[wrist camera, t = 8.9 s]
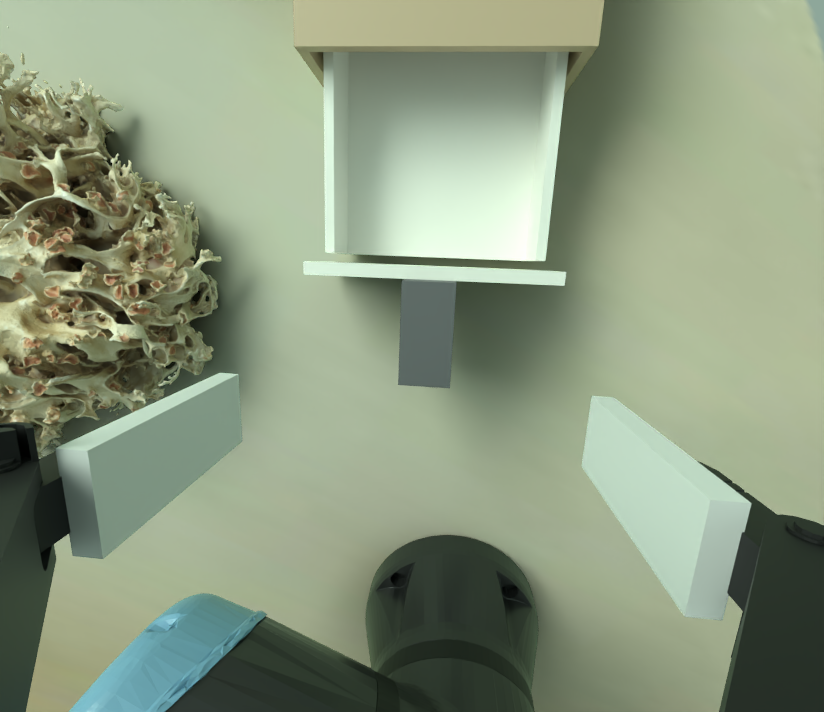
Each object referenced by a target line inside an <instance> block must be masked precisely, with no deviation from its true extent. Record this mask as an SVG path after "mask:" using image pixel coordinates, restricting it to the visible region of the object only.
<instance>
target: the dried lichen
mask: <svg viewBox="0 0 824 712" xmlns="http://www.w3.org/2000/svg"><path fill="white" fill-rule="evenodd" d="M7 28H9V26H7ZM21 62H22V64H23V65H24V64H25V59H24V54H23V53H21ZM13 70H14V64H13V63H12V61H11V60H10V59H9V56H8V55H7V54H3V53H1V52H0V85H1V86H2V87H3V88H4V89H3V90H2V89H0V95H1V96H2V97H1V98H2V99H0V423H9V422H26V423H30V424H33V425H34V424H35V425H37V426H38V427H37V429H36V427H34V430H35V431H36V432H35V434H34V435H35V441H36V446H37V452H38V457H41V458H43V456H42V455H41V451H42V450H44V449H45V447H46V446H47V445H48V444H49V443H50V444H54V443H55V445H56V446H60V445H61V443H60V442H59V441H58V440H56V439H55V438H57V437H61V436H60V435H59V434H58V433H60V434H61V435H63V433H62V432H61V431H60V430H61V429H62V427H63V426H64V424H63V423H65V422H67V421H68V420H70V419H71V418H73V417H75V416H76V418H80V417H84V416H86V417H91V418H94V419H96V420H100V418H99V417H98V416H97V414H96V413H95V411H96V410H98V409H101V408H103V409H107V408H109V407H111V406H112V407H114V406H115V405H116V403H118V402H119V405H118V407H116V408H115V409H114V410H113V411H115V410H117V409H118V408H119V410H120V409H123V408H124V404H125V405H126V408H127V407H128V408H129V409H130V410H131V412H132V413H133V412H135V411H137V410H139V409H142V408H144V407H145V404H146V403H147V402H148V400H149V398H151V399H154V400H158V401H159V400H160V396H161V397H162V396H164V395H165V394H164V392H163V391H164V390H165V389H161V387H160V386H163V385H165V384H169V383H170V385H171V384H172V382H173V381H174V380H175V379H176V378H177V377H178V376H179V371H180V369H181V368H184V369H185V370H187V371H190V372H192V373H194V375H195V376H196V375H199V374H201V373H202V370H203V368H204V365H205V361H209V360H211V359H212V357H213V356H212V355H211V352H213V348H212V346H206V344H204V342H203V341H202V338H203V336H202V333H201V332H199V331H198V332H195V330H194V329H193V327H191V326H190V324H189V322H190V321H192V320H194V319H196V318H198V317H204V316H207V315H209V314H212V310H214V309H216V308H218V305H217V302H216V300H218V291H217V285H218V283H217V281H216V280H214V279H213V278H212V277H211V275H205V273H203V272H202V271H201V270H200V268H201V265H202V264H203V263H204V262H207V261H214V262H221V256H218V257H215V256H213V255H212V254H213V252H211V251H210V250H209V249H207V250H203V249H201V251H200V257H199V258H200V259H198V261H197V263H196V264H195V265H194V261H192V260H190V259H191V258H194V259H196V257H195V250H196V251H197V249H196V245H197V241H198V236H199V235H200V233H199V224H198V223H199V221H198V217H195V219H194V221H192V218H191V217H192V213H193V211H194V209H195V207H194V206H193V204H194V203H193V202H191V203H190V205H187V206H186V205H184V209H185V216H184V215H183V212H182V210H181V208H180V206H179V204H178V201H171V202H170V201H168V199H167V198H169V199H172V198H171V197H170V196H167V195H166V193H164V195H162V191H161V190H160V189H158V188H161V186H163V184H161V183H159V182H158V181H155V184H153V182H150V181H149V182H145V183H141V180H142V179H143V178H142V177H141V178H139V177H138V174H139V173H138V172H135V174H134V172H133V171H132V170H131V169H132V166H131V164H132V162H130V161H129V160H128V167H126V168H125V164H124V165H123V167H121V161H118V163H117V164H115V162H117V160H118V156H119V154H118V153H117V155H116V156H115V157H116V158H113V157H111V156H110V154H109V153H108V151H107V149H106V144H105V142H104V141H105V138H106V137H107V136H106V135H105V134H106V133H107V132H109V131H112V132H114V130H113V129H112V128H111V127H110V126H109V124H107V123H105V121H104V120H103V119H102V118H100V117H99V116H100V114H99V112H100V111H101V110H104V109H106V108H109V109H112V110H114V111H116V112H117V111H122V110H123V109H124V108H123V107H122V106H121V105H120V104H116V103H114V102H113V103H112V102H110V101H108V100H106V99H104V98H103V97H102V96H101V95H97V96H96V95H92V94H91V92H92V90H93V86H92V85H90V87H89V88H88V92H89V94H88V93H87V92H86V90H85V87H84V84H83V82H82V80H81V78H79V79H80V83H81V85H82V88H83V97H82V96H81V95H78V91H79V88H80V85H79V83H77V82H74V81H70V83H71V87H72V89H71V91H70V92H69V93H66V94H65V93H64V92H63V93H61V94H62V95H63V97H64V99H63V98H61V96H60V95H58V94H57V93H56V92H54V91H53V89H52V88H51V87H48V89H44V90H43V89H42V88H41V87H40V86H39V85H37V84H36V85H35V87H36V88H38V89H39V90H40V91H39V92H37V91H35V90H34V91H35V96H32V95H31V92H30V89H31V88H32V87H31V86H29V85H30V84H32V81H33V79H35V78H36V76H35V75H37V74H38V73H39V72H38V71H29V70H23V71H22V75H21V79H20V78H17V79H18V80H17V81H15V80H14V79H12V82H13V83H14V84H13V85H12V86H7V87H6V86H5V85H4V84H3V81H4V80H5V79H10V73H12V71H13ZM43 81H44V80H43ZM44 82H45V83H47V82H46V81H44ZM47 84H48V83H47ZM59 86H60V87H61V88H62V86H61V85H60V84H59ZM23 89H24V91H23ZM74 90H75V94H73V92H74ZM48 91H49V92H50V93H47V92H48ZM72 94H73V95H72ZM1 101H2V102H3V105H2V103H1ZM10 106H12V107H13V108H14V109H15V110H16V111H17V115H16V116H17V117H16V116H15V115H14V114H13V113H12V111H11V110H10ZM70 113H71V115H70ZM80 117H82V118H83V120H82V121H81V120H80ZM108 159H110V160H111V163H112V164H113V165H112V166H110V165H109V164H108V163H107V162H106V161H104V160H108ZM120 172H122V173H123V175H122V176H121V175H120ZM129 172H131V173H129ZM128 174H129V175H128ZM140 183H141V184H140ZM190 206H191V207H190ZM198 291H200V292H201V296H200V298H199V300H198V302H195V301H194V300H193V299H192V298H193V296H194V295H195V293H197V292H198ZM206 296H209V301H208V302H206V300H205V298H206ZM200 312H203V313H204V314H198V313H200ZM189 356H191V357H193V358H192V359H189ZM171 362H176V364H175V365H174V366H173V367H171V368H168V369H166V368H165V367H166V366H168V365H169V364H170V363H171ZM182 363H183V364H184V365H183V364H182ZM178 367H179V368H178ZM177 368H178V371H177V372H174V371H175V370H176V369H177ZM173 372H174V374H176V375H175V376H173V377H171V376H168V375H169V374H171V373H173ZM167 376H168V379H171V380H170V381H163V379H164V378H165V377H167ZM123 378H126V379H127V382H124V380H123ZM162 381H163V383H162V384H160V383H161V382H162ZM157 382H158V384H157ZM156 388H159V389H156ZM129 390H133V392H132V393H130V394H129ZM157 392H158V393H157ZM154 393H157V394H154ZM145 399H146V400H145ZM136 400H138V401H140V400H141V401H142V402H138V401H136ZM111 411H112V409H111V410H110V412H111ZM118 414H119V412H118V413H117V414H116V416H117V415H118ZM77 415H78V416H77ZM58 430H59V431H58ZM57 431H58V432H57ZM62 437H63V436H62ZM51 439H52V441H53V442H52V441H51ZM65 440H66V438H65Z"/></svg>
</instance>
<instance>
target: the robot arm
mask: <svg viewBox="0 0 824 712" xmlns="http://www.w3.org/2000/svg"><path fill="white" fill-rule="evenodd" d="M241 442H242V426H241V408H240V390H239V374H231V373H218V374H216V375H213V376H211V377H209V378H207V379H205V380H203V381H200V382H198V383H196V384H194V385H192V386H190V387H187V388H185V389H183V390H181V391H179V392H176V393H174V394H172V395H170V396H168V397H166V398H163V399H161V400H159V401H157V402H155V403H153V404H150V405H148V406H146V407H144V408H142V409H139V410H137V411H135V412H133V413H131V414H129V415H126V416H124V417H122V418H120V419H118V420H116V421H113V422H111V423H109V424H107V425H105V426H103V427H100V428H98V429H96V430H94V431H92V432H89V433H87V434H85V435H83V436H81V437H79V438H76V439H74V440H72V441H70V442H68V443H66V444H63V445H61V446H59V447H57V448H55V451H56V452H54V453H51V454H49V455H47V456H45V457H43V458H41V459H39V458H38V452H37V446H36V441H35V435H34V429H33V425H32V424H30V423H26V422H9V423H0V712H26V707H27V702H28V697H29V692H30V687H31V682H32V677H33V672H34V667H35V662H36V657H37V652H38V647H39V642H40V637H41V632H42V627H43V622H44V617H45V612H46V607H47V602H48V597H49V592H50V587H51V582H52V577H53V572H54V567H55V562H56V555H55V549H54V543H56V542H57V541H59V540H60V539H62V538H63V537H64V536H66V535H67V534H69V536H70V542H71V548H72V554H73V556H79V557H89V558H99V559H104V558H105V557H106V556H107V555H108V554H110V553H111V552H112V551H113V550H114V549H115V548H117V547H118V546H119V545H120V544H121V543H123V542H124V541H125V540H126V539H127V538H128V537H130V536H131V535H132V534H133V533H134V532H135V531H137V530H138V529H139V528H140V527H141V526H143V525H144V524H145V523H146V522H147V521H148V520H150V519H151V518H152V517H153V516H154V515H156V514H157V513H158V512H159V511H160V510H161V509H163V508H164V507H165V506H166V505H167V504H169V503H170V502H171V501H172V500H173V499H174V498H176V497H177V496H178V495H179V494H180V493H182V492H183V491H184V490H185V489H186V488H187V487H189V486H190V485H191V484H192V483H193V482H195V481H196V480H197V479H198V478H199V477H200V476H202V475H203V474H204V473H205V472H206V471H208V470H209V469H210V468H211V467H212V466H213V465H215V464H216V463H217V462H218V461H219V460H221V459H222V458H223V457H224V456H225V455H226V454H228V453H229V452H230V451H231V450H232V449H234V448H235V447H236V446H237V445H238V444H239V443H241ZM582 468H583V469H584V471H585V472H586V474H587V475H588V477H589V478H590V479H591V481H592V482H593V484H594V485H595V487H596V488H597V490H598V491H599V493H600V494H601V495H602V497H603V498H604V500H605V501H606V503H607V504H608V506H609V507H610V509H611V510H612V512H613V513H614V514H615V516H616V517H617V519H618V520H619V522H620V523H621V525H622V526H623V528H624V529H625V531H626V532H627V533H628V535H629V536H630V538H631V539H632V541H633V542H634V544H635V545H636V547H637V548H638V549H639V551H640V552H641V554H642V555H643V557H644V558H645V560H646V561H647V563H648V564H649V566H650V567H651V568H652V570H653V571H654V573H655V574H656V576H657V577H658V579H659V580H660V582H661V583H662V585H663V586H664V587H665V589H666V590H667V592H668V593H669V595H670V596H671V598H672V599H673V601H674V602H675V604H676V605H677V606H678V608H679V609H680V611H681V612H682V614H683V615H684V617H693V618H703V619H713V620H723V616H724V612H725V608H726V604H727V600H728V596H730V597H731V598H732V599H733V600H734V601H735V602H736V604H737V605H738V606H739V607H740V608H741V609H742V611H743V613H742V617H741V621H740V625H739V629H738V632H737V636H736V640H735V644H734V648H733V652H732V655H731V658H732V659H731V663H730V667H729V672H728V676H727V680H726V684H725V689H724V693H723V697H722V702H721V706H720V710H719V712H824V526H823V525H821V524H819V523H816V522H813V521H810V520H806V519H803V518H799V517H795V516H788V515H777V514H775V513H774V512H773V511H771V510H770V509H769V508H767V507H766V506H765V505H763V504H762V503H761V502H759V501H758V500H757V499H755V498H754V497H753V496H751V495H750V494H749V493H745V492H744V490H743V489H742V488H740V487H739V486H738V485H736V484H734V483H732V481H731V480H730V479H728V478H727V477H726V476H724V475H723V474H722V473H720V472H719V471H717V470H715V469H713V468H711V467H709V466H707V465H705V464H703V463H701V462H699V461H696V460H695V459H693V458H692V457H691V456H689V455H688V454H687V453H686V452H684V451H683V450H682V449H680V448H679V447H678V446H676V445H675V444H674V443H673V442H671V441H670V440H669V439H667V438H666V437H665V436H663V435H662V434H661V433H659V432H658V431H657V430H656V429H654V428H653V427H652V426H650V425H649V424H648V423H646V422H645V421H644V420H643V419H641V418H640V417H639V416H637V415H636V414H635V413H633V412H632V411H631V410H630V409H628V408H627V407H626V406H624V405H623V404H622V403H620V402H619V401H618V400H617V399H615V398H614V397H600V396H592V397H591V404H590V411H589V418H588V425H587V432H586V439H585V446H584V453H583V460H582ZM266 615H267V614H266V613H264V612H263V611H257V612H254V611H252V610H249V609H247V608H245V607H242V606H240V605H238V604H235V603H233V602H231V601H228V600H226V599H223V598H221V597H219V596H216V595H213V594H197V595H193V596H190V597H187V598H185V599H183V600H181V601H179V602H178V603H176V604H175V605H173V606H172V607H171V608H169V609H168V610H166V611H165V612H164V613H163V614H161V615H160V616H159V617H158V618H157V619H156V620H154V621H153V622H152V623H151V624H150V625H149V626H148V627H147V628H146V629H145V630H144V631H143V632H142V633H141V634H140V635H139V636H138V637H137V638H136V639H135V640H134V641H133V642H131V644H130V645H129V646H128V647H127V648H126V649H125V650H124V651H123V652H122V653H121V654H120V655H119V656H118V657H117V658H116V659H115V660H114V661H113V662H112V663H111V665H110V666H109V667H108V668H107V669H106V670H105V671H104V672H103V673H102V674H101V675H100V677H99V678H98V679H97V680H96V681H95V682H94V683H93V684H92V686H91V687H90V688H89V689H88V690H87V691H86V692H85V693H84V695H83V696H82V697H81V698H80V699H79V700H78V701H77V703H76V704H75V705H74V706H73V707H72V709H71V710H70V711H69V712H535V711H534V706H533V701H532V695H531V689H532V681H533V673H534V665H535V657H536V649H537V640H538V617H537V612H536V608H535V604H534V600H533V596H532V592H531V589H530V586H529V584H528V582H527V580H526V578H525V576H524V574H523V573H522V572H521V570H520V569H519V568H518V567H517V565H516V564H515V563H514V562H513V561H512V560H511V559H510V558H508V557H507V556H506V555H505V554H503V553H502V552H500V551H499V550H497V549H496V548H494V547H492V546H490V545H488V544H486V543H483V542H481V541H478V540H475V539H471V538H467V537H462V536H452V535H441V536H431V537H426V538H422V539H418V540H415V541H413V542H410V543H408V544H406V545H404V546H402V547H401V548H399V549H397V550H396V551H395V552H393V553H392V554H391V555H390V556H389V557H388V558H387V559H386V560H385V561H384V562H383V563H382V564H381V566H380V567H379V569H378V570H377V572H376V574H375V576H374V579H373V581H372V585H371V589H370V593H369V597H368V602H367V607H366V630H367V638H368V646H369V654H370V662H371V668H369V667H367V666H365V665H363V664H361V663H359V662H357V661H355V660H353V659H351V658H349V657H347V656H345V655H343V654H341V653H339V652H337V651H335V650H333V649H331V648H329V647H327V646H325V645H323V644H321V643H319V642H317V641H315V640H312V639H310V638H308V637H306V636H304V635H302V634H300V633H298V632H296V631H294V630H292V629H290V628H288V627H286V626H284V625H282V624H280V623H278V622H276V621H274V620H272V619H270V618H268V617H266Z"/></svg>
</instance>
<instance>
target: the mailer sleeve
mask: <svg viewBox="0 0 824 712" xmlns="http://www.w3.org/2000/svg"><path fill="white" fill-rule="evenodd" d="M603 7H604V0H293V14H294V47H295V48H296V49H297V51H298V52H299V54H300V55H301V56H302V58H303V59H304V61H305V62H306V64H307V65H308V66H309V68H310V69H311V71H312V72H313V73H314V75H315V76H316V78H317V79H318V80H319V82H320V83H321V85H322V86H323V87H324V64H323V52H569V54H568V63H567V72H566V81H565V90H564V95H565V94H566V92H567V91H568V90H569V88H570V87H571V85H572V84H573V82H574V81H575V79H576V78H577V76H578V75H579V74H580V72H581V71H582V69H583V68H584V66H585V65H586V63H587V62H588V60H589V59H590V58H591V56H592V55H593V53H594V52H595V50H596V49H597V47H598V46H599V39H600V31H601V23H602V15H603Z"/></svg>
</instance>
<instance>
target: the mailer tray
mask: <svg viewBox="0 0 824 712" xmlns="http://www.w3.org/2000/svg"><path fill="white" fill-rule="evenodd" d="M568 54H569V52H323V64H324V165H325V252H326V253H337V254H358V255H383V256H409V257H435V258H460V259H486V260H511V261H545V260H546V251H547V242H548V233H549V224H550V215H551V206H552V197H553V188H554V179H555V171H556V162H557V153H558V144H559V135H560V126H561V117H562V108H563V99H564V90H565V81H566V72H567V63H568ZM303 264H304V274H305V275H328V276H351V277H374V278H397V279H405V280H402V288H401V319H400V349H399V380H398V385H409V386H424V387H440V388H450V377H451V361H452V346H453V330H454V314H455V298H456V281H466V282H489V283H512V284H535V285H558V286H565V278H566V272H560V271H546V270H524V269H499V268H475V267H450V266H426V265H401V264H376V263H352V262H322V261H303Z"/></svg>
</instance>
